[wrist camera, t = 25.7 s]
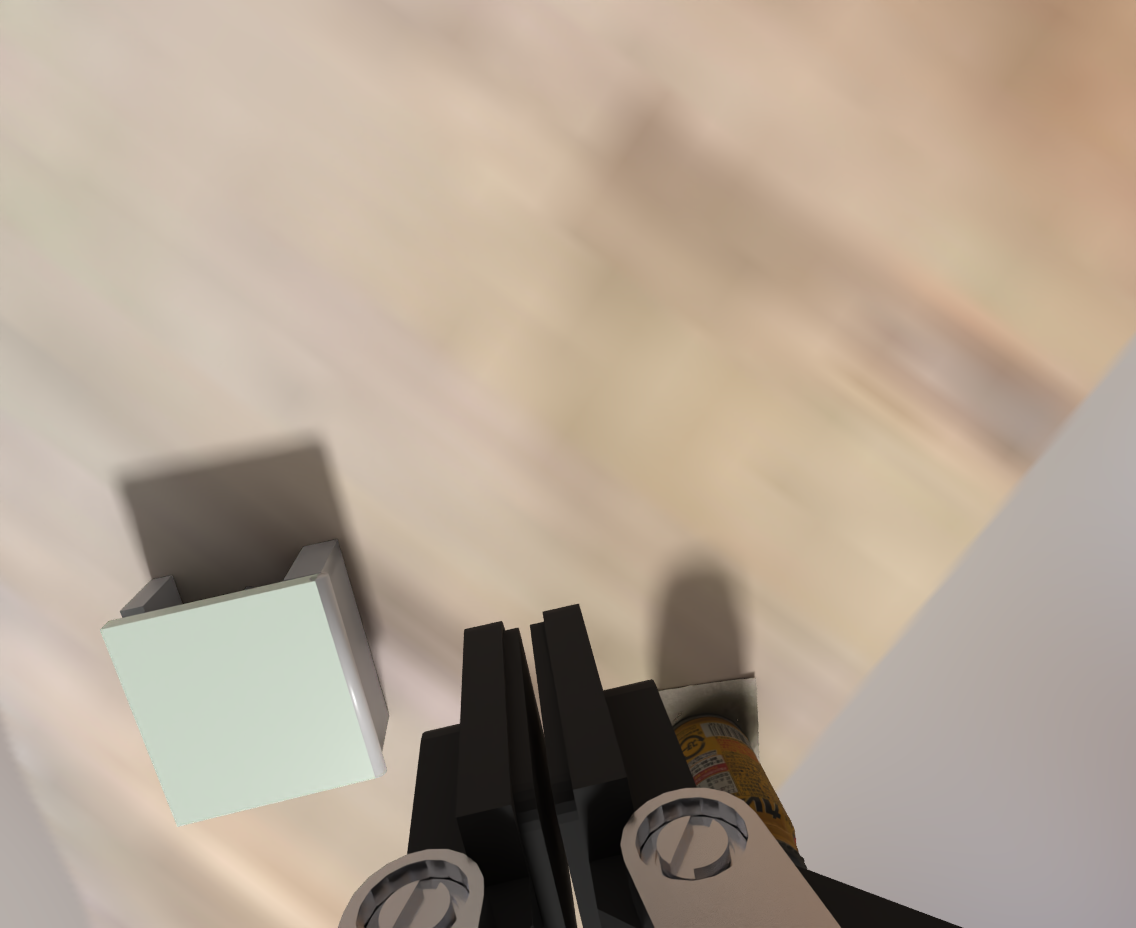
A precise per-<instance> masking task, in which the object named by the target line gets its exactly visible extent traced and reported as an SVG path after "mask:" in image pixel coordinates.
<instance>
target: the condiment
mask: <svg viewBox="0 0 1136 928" xmlns="http://www.w3.org/2000/svg"><path fill="white" fill-rule="evenodd" d="M658 692H659V694H660V697H661V699H662V702H663V704H664V707H665V709H666V712H667V714H668V717H669V719H670V721H671V724H672V726H673V729H674V731H675V734H676V736H677V739H678V741H679V744H680V746H681V749H682V751H683V754H684V756H685V759H686V761H687V764H688V766H689V769H690V771H691V774H692V776H693V779H694V781H695V784H696V786H697V788H710V789H714V790H719V791H724V792H727V793H729V794H731V795H733V796H735V797H737V798H739V799H741V800H743V801H744V802H745V803H746V804H747V805H748V806H749V807H750V808H751V809H753V810H754V811H755V812H756V814H757V815H758V816H759V818H760V819H761V820H762V822H763V823H764V824H765V826H766V827H767V828H768V830H769V831H770V832H771V834H772V835H773V836H774V838H775V839H776V841H777V842H778V843H779V845H780V846H781V847H782V849H783V850H784V851H785V853H786V854H787V855H788V857H789V858H790V859H791V861H792V862H793V863H794V865H796V866H799V867H802V868H804V869H807V867H806V865H805V863H804V858H803V857H801V856H800V855H799V852H798V848H797V846H796V838H795V830H794V827H793V825H792V822H791V820H790V818H789V817H788V815H787V813H786V811H785V810H784V808H783V805H782V804H781V802H780V800H779V798H778V796H777V794H776V793H775V791H774V789H773V787H772V785H771V783H770V782H769V780H768V778H767V776H766V774H765V772H764V770H763V768H762V766H761V764H760V759H759V742H758V711H757V687H756V678H749V679H737V680H729V681H723V682H713V683H706V684H700V685H689V686H686V687H682V688H676V689H667V690H662V691H658ZM680 712H682V713H681V715H680V716H678V714H679V713H680ZM676 718H678V720H677V721H675V719H676ZM737 719H738V721H737Z"/></svg>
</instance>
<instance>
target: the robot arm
mask: <svg viewBox="0 0 1136 928" xmlns="http://www.w3.org/2000/svg"><path fill="white" fill-rule="evenodd" d="M543 618H544V622H541V623H536V624H532V625H530V630H531V637H532V645H533V652H534V660H535V668H536V675H537V683H538V691H539V698H540V706H541V714H542V721H543V729H544V733H543V729H542V725H541V720H540V716H539V712H538V707H537V703H536V699H535V695H534V690H533V686H532V682H531V677H530V673H529V669H528V664H527V660H526V656H525V652H524V647H523V643H522V639H521V635H520V631H519V628H514V629H510V630H505V628H504V625H503V622H502V621H499V622H495V623H491V624H486V625H482V626H477V627H473V628H468V629H465V630H464V646H463V669H462V692H461V715H460V724H456V725H452V726H448V727H443V728H439V729H435V730H430V731H426V732H424V733H423V734H422V738H421V744H420V753H419V761H418V769H417V777H416V786H415V794H414V802H413V810H412V819H411V827H410V835H409V843H408V851H407V855H405V856H403V857H401V858H399V859H396V860H394V861H392V862H390V863H388V864H386V865H385V866H384V867H382V868H381V869H379V870H378V871H377V872H375V873H374V874H373V875H371V876H370V877H368V879H367V880H366V881H365V882H364V883H363V884H362V885H361V886H360V887H359V888H358V890H357V891H356V892H355V893H354V894H353V896H352V898H351V899H350V901H349V903H348V905H347V907H346V909H345V910H344V912H343V915H342V918H341V920H340V923H339V926H338V928H577V923H576V916H575V909H574V902H573V895H572V888H571V881H570V874H571V878H572V882H573V887H574V891H575V895H576V899H577V904H578V908H579V912H580V916H581V921H582V925H583V928H962V927H959V926H957V925H954V924H951V923H949V922H946V921H943V920H941V919H938V918H935V917H933V916H930V915H927V914H925V913H922V912H919V911H917V910H914V909H911V908H909V907H906V906H903V905H900V904H898V903H895V902H892V901H890V900H887V899H885V898H882V897H879V896H877V895H874V894H871V893H869V892H866V891H863V890H860V889H858V888H855V887H853V886H850V885H847V884H845V883H842V882H839V881H836V880H834V879H831V878H828V877H826V876H823V875H820V874H818V873H815V872H812V871H810V870H807V869H804V868H802V867H799V866H796V865H794V863H793V862H792V861H791V859H790V858H789V857H788V855H787V854H786V853H785V851H784V850H783V849H782V847H781V846H780V845H779V843H778V842H777V841H776V839H775V838H774V836H773V835H772V834H771V832H770V831H769V830H768V828H767V827H766V826H765V824H764V823H763V822H762V820H761V819H760V818H759V816H758V815H757V814H756V812H755V811H754V810H753V809H751V808H750V807H749V806H748V805H747V804H746V803H745V802H744V801H743V800H741V799H739V798H737V797H735V796H733V795H731V794H729V793H727V792H724V791H719V790H714V789H710V788H697V786H696V784H695V781H694V779H693V776H692V774H691V771H690V769H689V766H688V764H687V761H686V759H685V756H684V754H683V751H682V749H681V746H680V744H679V741H678V739H677V736H676V734H675V731H674V729H673V726H672V724H671V721H670V719H669V717H668V714H667V712H666V709H665V707H664V704H663V702H662V699H661V697H660V694H659V692H658V689H657V687H656V684H655V682H654V680H652V679H651V680H647V681H642V682H638V683H634V684H629V685H625V686H621V687H616V688H612V689H608V690H603V689H602V685H601V681H600V678H599V674H598V671H597V667H596V663H595V660H594V656H593V653H592V649H591V645H590V642H589V638H588V634H587V631H586V627H585V624H584V620H583V616H582V613H581V609H580V606H579V604H575V605H571V606H566V607H562V608H557V609H553V610H548V611H544V612H543ZM544 736H545V737H544ZM568 866H569V867H568ZM569 870H570V874H569Z"/></svg>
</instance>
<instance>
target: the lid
mask: <svg viewBox="0 0 1136 928" xmlns="http://www.w3.org/2000/svg"><path fill="white" fill-rule="evenodd" d="M100 631H101V634H102V636H103V639H104V641H105V644H106V647H107V649H108V652H109V654H110V657H111V659H112V662H113V664H114V667H115V669H116V672H117V674H118V677H119V680H120V682H121V685H122V687H123V690H124V692H125V695H126V697H127V700H128V702H129V705H130V708H131V710H132V713H133V715H134V718H135V720H136V723H137V725H138V728H139V730H140V733H141V735H142V738H143V741H144V743H145V746H146V748H147V751H148V753H149V756H150V758H151V761H152V763H153V766H154V769H155V771H156V774H157V776H158V779H159V781H160V784H161V786H162V789H163V791H164V794H165V796H166V799H167V802H168V804H169V807H170V809H171V812H172V814H173V817H174V819H175V822H176V824H177V827H179V826H183V825H187V824H191V823H195V822H199V821H203V820H207V819H211V818H215V817H220V816H224V815H228V814H232V813H236V812H240V811H244V810H248V809H252V808H256V807H260V806H264V805H268V804H273V803H277V802H281V801H285V800H289V799H293V798H297V797H301V796H305V795H309V794H313V793H317V792H321V791H326V790H330V789H334V788H338V787H342V786H346V785H350V784H354V783H358V782H362V781H366V780H370V779H374V778H378V777H381V776H383V775H384V774H385V773H386V772H387V767H386V764H385V760H384V757H383V754H382V750H381V747H380V744H379V740H378V737H377V734H376V730H375V727H374V724H373V720H372V717H371V714H370V710H369V707H368V704H367V700H366V697H365V694H364V690H363V687H362V684H361V680H360V677H359V674H358V670H357V667H356V664H355V660H354V657H353V654H352V650H351V647H350V644H349V640H348V637H347V634H346V630H345V627H344V624H343V620H342V617H341V614H340V610H339V607H338V604H337V600H336V597H335V594H334V590H333V587H332V584H331V580H330V577H329V574H328V573H326V572H324V573H318V574H314V575H310V576H305V577H301V578H296V579H292V580H288V581H283V582H279V583H274V584H270V585H265V586H261V587H257V588H252V589H248V590H243V591H239V592H235V593H230V594H226V595H221V596H217V597H213V598H208V599H204V600H199V601H195V602H190V603H186V604H182V605H177V606H173V607H168V608H164V609H160V610H155V611H151V612H146V613H142V614H137V615H133V616H129V617H124V618H120V619H115V620H111V621H108V622H107V623H106V624H105V625H104V626H103V627H102V628H101V629H100Z"/></svg>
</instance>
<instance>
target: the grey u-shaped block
mask: <svg viewBox="0 0 1136 928" xmlns="http://www.w3.org/2000/svg"><path fill="white" fill-rule="evenodd" d="M324 572H326V573H328V574H329V577H330V580H331V584H332V587H333V590H334V594H335V597H336V600H337V604H338V607H339V610H340V614H341V617H342V620H343V624H344V627H345V630H346V634H347V637H348V640H349V644H350V647H351V650H352V654H353V657H354V660H355V664H356V667H357V670H358V674H359V677H360V680H361V684H362V687H363V690H364V694H365V697H366V700H367V704H368V707H369V710H370V714H371V717H372V720H373V724H374V727H375V730H376V734H377V737H378V740H379V744H380V747H381V750H383V745H384V740H385V735H386V729H387V724H388V719H389V714H388V710H387V707H386V703H385V700H384V697H383V693H382V690H381V686H380V683H379V680H378V676H377V673H376V669H375V666H374V662H373V659H372V656H371V652H370V649H369V645H368V642H367V639H366V635H365V632H364V628H363V625H362V621H361V618H360V615H359V611H358V608H357V604H356V601H355V597H354V594H353V591H352V587H351V584H350V580H349V577H348V574H347V570H346V567H345V563H344V560H343V556H342V553H341V550H340V546H339V543H338V539H335V540H331V541H326V542H322V543H317V544H312V545H308V546H303V548H302V549H301V551H300V553H299V555H298V556H297V558H296V560H295V561H294V563H293V565H292V566H291V568H290V570H289V571H288V573H287V575H286V576H285V578H284V580H283V581H288V580H292V579H296V578H301V577H305V576H310V575H314V574H318V573H324ZM182 604H183V603H182V601H181V598H180V595H179V592H178V590H177V587H176V584H175V581H174V578H173V576H172V575H170V576H166V577H161V578H156V579H152V580H151V581H150V582H149V583H148V584H147V585H146V586H145V587H144V588H143V589H142V590H141V591H140V592H139V593H138V594H137V595H136V596H135V597H134V598H133V599H132V600H131V601H130V602H129V603H128V604H127V605H126V606H125V607H124V608H123V609H122V610H121V611H120V613H121V615H122V618H124V617H129V616H133V615H137V614H142V613H146V612H151V611H155V610H160V609H164V608H168V607H173V606H177V605H182Z"/></svg>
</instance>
